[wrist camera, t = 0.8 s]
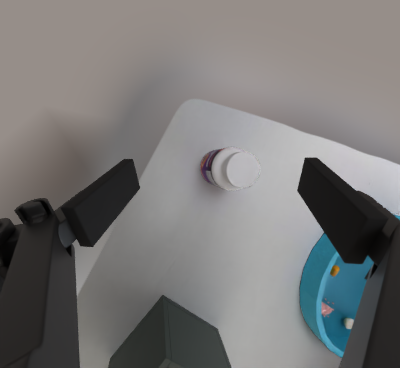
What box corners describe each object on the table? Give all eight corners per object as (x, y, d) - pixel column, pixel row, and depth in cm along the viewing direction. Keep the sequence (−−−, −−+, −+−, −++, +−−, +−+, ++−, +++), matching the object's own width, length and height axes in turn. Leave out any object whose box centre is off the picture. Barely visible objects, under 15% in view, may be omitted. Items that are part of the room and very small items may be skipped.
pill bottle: (219, 143, 29) (249, 134, 19) (237, 170, 30) (275, 174, 20) (192, 164, 28) (210, 165, 19) (212, 190, 29) (238, 205, 20)
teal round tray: (359, 359, 43) (390, 389, 37) (272, 309, 35) (294, 338, 29) (427, 252, 44) (467, 266, 38) (357, 181, 36) (394, 185, 30)
